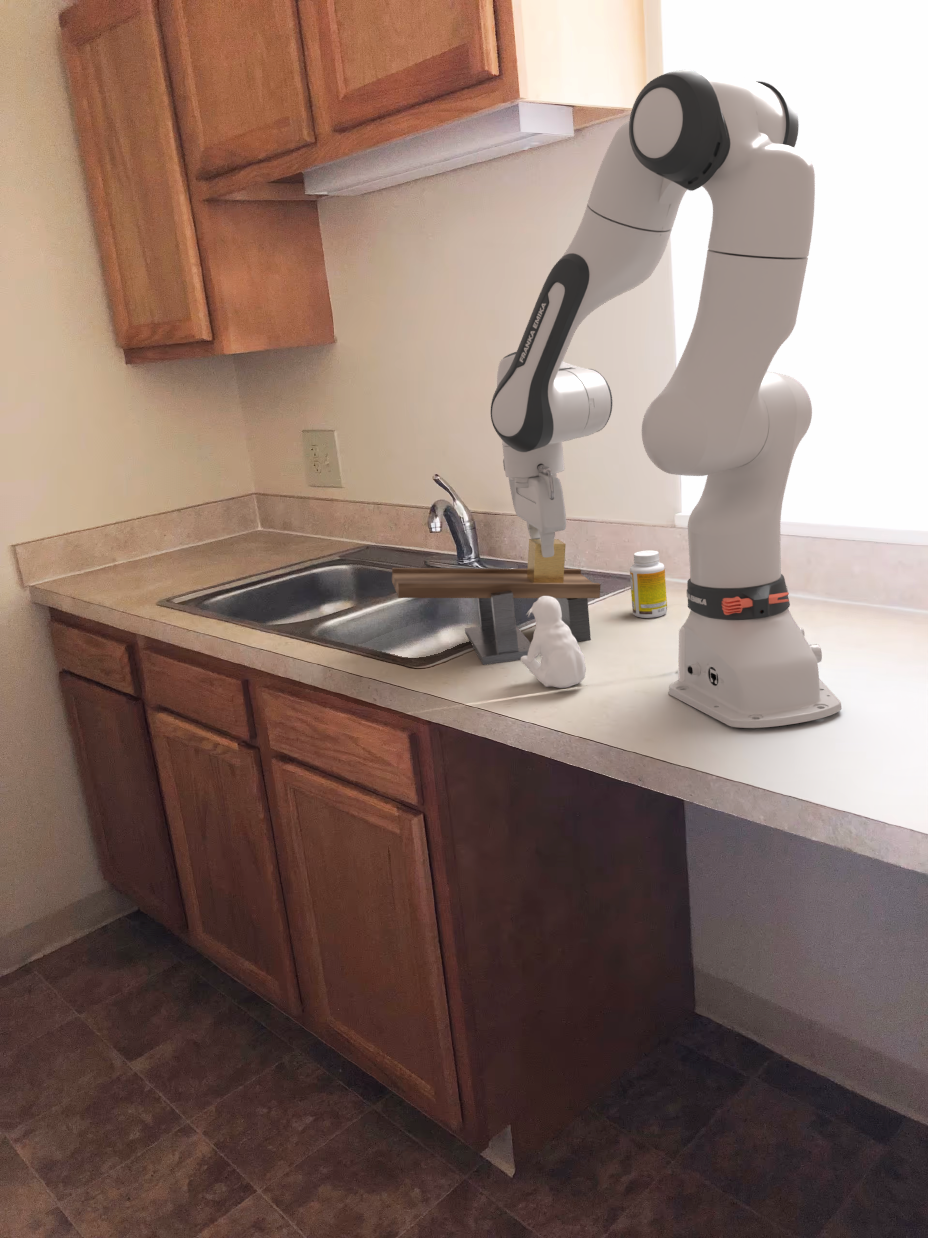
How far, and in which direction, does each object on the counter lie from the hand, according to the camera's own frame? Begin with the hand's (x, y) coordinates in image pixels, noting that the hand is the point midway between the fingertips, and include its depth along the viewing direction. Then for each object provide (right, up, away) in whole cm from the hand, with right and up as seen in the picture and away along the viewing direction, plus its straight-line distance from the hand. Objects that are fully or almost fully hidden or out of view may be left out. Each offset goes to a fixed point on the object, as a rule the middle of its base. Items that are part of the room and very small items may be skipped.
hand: (542, 553), depth 152 cm
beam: (-8, -6, 0) cm, 9 cm away
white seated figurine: (+1, -19, -17) cm, 25 cm away
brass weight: (0, -4, +1) cm, 4 cm away
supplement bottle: (+18, -9, +11) cm, 23 cm away
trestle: (-2, -13, +3) cm, 14 cm away
